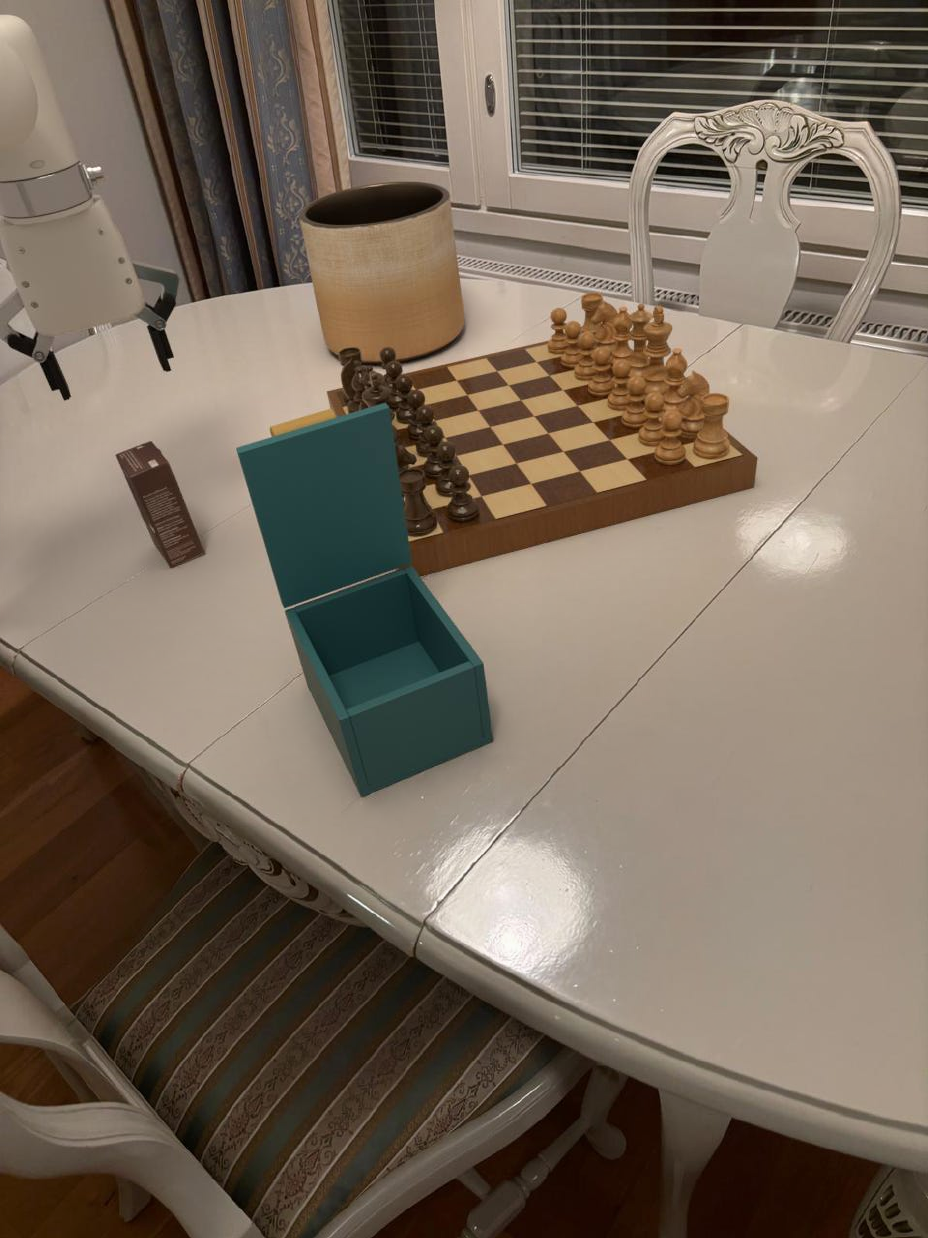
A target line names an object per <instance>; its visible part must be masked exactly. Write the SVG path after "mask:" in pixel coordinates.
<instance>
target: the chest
mask: <svg viewBox="0 0 928 1238" xmlns="http://www.w3.org/2000/svg"><path fill="white" fill-rule="evenodd" d="M284 614H285V617H286V620H287V624H288V627H289V630H290V634H291V636H292V640H293V643H294V646H295V650H296V653H297V656H298V660H299V663H300V666H301V669H302V672H303V675H304V678H305V683H306V686H307V687H308V690H309V692H310V693H311V696H312V698H313V700H314V702H315V704H316V706H317V708H318V711H319V712H320V714H321V717H322V719H323V721H324V723H325V725H326V728H327V729H328V731H329V733H330V735H331V738H332V739H333V742H334V744H335V746H336V748H337V750H338V752H339V755H340V756H341V758H342V761H343V763H344V765H345V767H346V768H347V771H348V773H349V775H350V777H351V779H352V782H353V784H354V786H355V789H356V790H357V792H358V794H359V796H360V797H361V798H363V797H366V796H367V795H370V794H372V793H375V792H377V791H379V790H382V789H384V788H387V787H388V786H389V787H390V786H391V785H394V784H396V783H398V782H401V781H403V780H405V779H407V778H410V777H412V776H414V775H417V774H419V773H421V772H424V771H426V770H429V769H431V768H434V767H436V766H438V765H441V764H443V763H445V762H448V761H450V760H452V759H455V758H457V757H460V756H462V755H464V754H467V753H469V752H472V751H473V750H476V749H478V748H481V747H483V746H486V745H488V744H491V743H492V742H494V736H493V727H492V721H491V720H492V719H491V712H490V704H489V697H488V695H489V694H488V687H487V681H486V680H487V679H486V671H485V665H484V662H483V660H482V659H481V658H480V656H479V655H478V653H476V651H475V649H474V648H473V647H472V646H471V644H470V643H469V642H468V639H467V638H466V637H465V636H464V635H463V633H462V632H461V630H460V629H459V628H458V626H457V625H456V623H455V622H454V621H453V619H452V618H451V617H450V616H449V614H448V613H447V612H446V610H445V609H444V608H443V606H442V605H441V604H440V602H439V600H438V599H437V598H436V597H435V595H434V594H433V592H432V591H431V590H430V589H429V587H428V586H427V585H426V583H425V581H424V580H423V579H422V578H421V576H419V575H418V574H417V572H416V571H415V570H414V568H413V567H412V566H411V565H410V566H407V567H405V568H402V569H399V570H396V569H395V570H392V571H389V572H387V573H384V574H381V575H378V576H377V577H376V576H375V577H373V578H370V579H367V580H364V581H361V582H359V583H356V584H353V585H350V586H347V587H345V588H342V589H339V590H336V591H333V592H331V593H328V594H325V595H322V596H319V597H317V598H314V599H311V600H308V601H305V602H303V603H300V604H299V605H298V604H297V605H294V606H293V607H289V608H288V609H287V608H286V609H285V610H284Z"/></svg>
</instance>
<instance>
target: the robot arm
mask: <svg viewBox="0 0 928 1238" xmlns="http://www.w3.org/2000/svg"><path fill="white" fill-rule="evenodd" d="M41 51H42V50H41V49H40V46H39V43H38V40H37V39H36V36H35V33H34V32H33V30H32V28H31V26H30V25H29V24H28V23H27V22H26V21H25V20H24V19H22V18H21V17H19V16H17V15H12V14H0V213H1V215H0V243H1V248H2V250H3V253H4V256H5V259H6V263H7V266H8V268H9V270H10V273H11V276H12V278H13V281H14V284H15V287H16V288H15V289H14V290H13V291H12V292H10V294H9V295H8V296H6V298H5V299H4V300H3V301H2V302H1V303H0V340H1V341H3V342H5V343H6V344H7V345H8V347H9V348H10V349H11V350H14V351H16V352H19V353H20V354H23V355H25V356H28V357H29V358H32V360H33V361H35V362H36V363H38V364H39V366H40V368H41V370H42V373H43V374H44V376H45V379H46V381H47V383H48V386H49V388H50V390H51V391H52V392H54V391H59V393H60V395H61V397H62V399H63V401H64V402H65V401H68V400H70V398H72V396H71V392H70V391H71V390H70V387H69V384H68V382H67V380H66V377H65V375H64V373H63V370H62V369H61V366H60V363H59V362H58V359H57V356H56V355H55V352H54V351H53V350H51V348H52V345H53V343H54V340H55V338H56V337H62V336H66V335H70V334H73V333H77V332H82V331H85V330H89V329H94V328H97V327H101V326H105V325H109V324H112V323H115V322H119V321H124V320H126V319H130V318H133V317H136V318H137V319H139V320H141V321H143V322H144V323H145V324H147V325H146V329H147V332H148V334H149V337H150V341H151V343H152V346H153V348H154V351H155V354H156V357H157V359H158V362H159V365H160V367H161V368H162V372H166V373H168V372H171V371H172V368H171V365H170V362H169V360H171V359H174V358H175V355H174V352H173V350H172V347H171V344H170V340H169V338H168V337H169V336H168V334H167V332H166V327H167V322H168V321H169V319H170V317H171V315H172V313H173V311H174V309H175V307H176V305H177V296H178V291H179V285H180V275H179V274H178V273H177V272H176V270H174V269H172V268H167V267H163V266H159V265H155V264H150V263H146V262H143V261H136V260H133V259H131V256H130V254H129V252H128V249H127V247H126V244H125V242H124V239H123V236H122V235H121V232H120V230H119V228H118V226H117V224H116V222H115V219H114V217H113V215H112V213H111V211H110V210H109V208H108V206H107V204H106V202H105V200H104V199H103V197H102V196H101V195H99V194H93V192H92V191H93V190H95V188H94V187H95V186H96V187H97V186H98V184H101V183H105V182H106V179H105V175H104V171H103V170H102V168H101V164H96V165H91V164H88V165H86V163H85V162H81V160H80V157H79V154H78V151H77V149H76V146H75V143H74V140H73V137H72V135H71V132H70V130H69V127H68V124H67V121H66V119H65V115H64V113H63V110H62V107H61V105H60V102H59V99H58V96H57V93H56V90H55V88H54V85H53V81H52V79H51V76H50V74H49V71H48V68H47V64H46V63H45V60H44V57H43V54H42V52H41ZM140 280H144V281H148V282H153V283H157V284H160V285H161V293H160V294H159V296H158V298H157V300H156V302H155V304H154V306H153V305H152V304H150V303H149V302H148V301H146V299H145V295H144V292H143V288H142V285H141V283H140ZM23 309H24V310H25V312H26V314H27V316H28V318H29V321H30V322H31V325H32V326H33V328H34V330H35V331H34V333H33V337H30V336H28V335H25V334H24V333H21V332H20V331H17V330H15V328H13V326H11V325H10V324H9V323H10V322H11V321H12V320H13V319H14V318H15V317H16V316H17V315H18V314H19V313H20V312H21V311H22V310H23Z"/></svg>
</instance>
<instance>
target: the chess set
mask: <svg viewBox="0 0 928 1238" xmlns="http://www.w3.org/2000/svg"><path fill="white" fill-rule="evenodd" d="M580 304H581V310H583V311H584V320H583V324H582V326H581V324H580V322H578V321H576V320H570V321H568V322H566V321H567V317H568V313H567V311H566V310H565V309H564V308H562V307H556V308H554V309H553V310H551V312H550V320H551V322H552V324H551V325H550V328H551V329H552V330H553V331H554V333H553V334H552V335H551V336H550V339H549V340H545V341H541V342H537V343H532V344H528V345H524V346H519V347H514V348H511V349H510V348H509V349H506V350H501V351H497V352H493V353H488V354H484V355H479V356H475V357H471V358H467V359H466V358H465V359H462V360H457V361H454V362H449V363H444V364H440V365H437V366H432V367H427V368H423V369H418V370H413V371H409V372H406V373H404V372H403V371H404V370H403V365H402V362H398V361H395V359H396V352H395V350H394V349H393V348H391V347H385V348H383V349H382V350H381V351H380V354H379V356H380V360H381V361H382V362H383V364H381V366H380V368H381V369H382V370H383V371H385V373H384V374H382V373H380V372H377V371H376V370H374V367H373V366H372V365H367V366H366V367H365V366H364V365H362V364H363V363H361V362H362V356H361V351H360V349H359V348H355V347H350V348H345V349H343V350H341V351H340V352H339V355H338V360H339V362H340V363H339V364H340V366H342V369H341V372H340V381H341V386H342V387H340V388H334V389H331V390H327V391H326V394H327V395H326V396H327V399H328V404H329V409H332V410H333V411H334V413H335V416H336V417H340V416H343V415H346V414H350V413H353V412H356V411H360V410H363V409H366V408H370V407H373V406H376V405H379V404H383V403H386V404H387V405H388V406H389V409H390V416H391V423H392V430H393V436H394V443H395V450H396V457H397V464H398V471H399V478H400V484H401V491H402V498H403V505H404V512H405V519H406V525H407V532H408V539H409V546H410V553H411V560H412V563H411V564H408V565H405V566H402V567H400V568H397V569H395V571H396V570H399V569H402V568H405V567H407V566H410V565H411V566H412V567H413V568H414V570H415V571H416V572H417V574H418V575H419V576H420V577H422V576H426V575H429V574H430V575H431V574H434V573H437V572H441V571H444V570H449V569H452V568H453V569H454V568H457V567H461V566H464V565H467V564H472V563H476V562H480V561H483V560H486V559H491V558H494V557H498V556H501V555H505V554H508V553H513V552H517V551H520V550H523V549H524V550H525V549H527V548H532V547H535V546H539V545H542V544H546V543H550V542H555V541H557V540H561V539H564V538H570V537H572V536H577V535H580V534H584V533H588V532H591V531H595V530H598V529H602V528H607V527H611V526H615V525H617V524H621V523H625V522H629V521H633V520H637V519H640V518H643V517H644V518H645V517H648V516H651V515H655V514H658V513H663V512H666V511H670V510H673V509H677V508H681V507H685V506H689V505H693V504H696V503H700V502H703V501H708V500H711V499H715V498H718V497H722V496H726V495H730V494H734V493H738V492H741V491H745V490H748V489H753V488H755V484H756V483H755V482H756V475H757V474H756V473H757V466H758V458H759V457H758V456H757V455H755V454H754V453H753V452H752V451H751V450H749V448H747V447H746V446H745V445H743V443H741V442H740V441H739V440H738V439H737V438H735V437H734V436H733V435H731V433H729V432H728V431H727V430H726V429H725V428H724V417H725V416H726V415H727V414H728V412H729V408H730V397H729V396H728V395H726V394H724V393H719V392H711V393H710V383H709V382H708V380H707V379H706V378H705V377H704V375H702V374H701V373H698V372H696V370H695V371H694V370H693V369H692V371H691V375H688V376H685V373H686V372H687V370H688V361H687V359H686V358H685V356H684V354H682V353H683V350H682V349H681V348H680V347H679V348H678V347H676V348H674V349H671V347H670V346H669V344H668V340H669V338H670V336H671V333H672V331H673V325H672V324H671V323H670V322H668V321H665V313H664V307H663V306H662V305H656V306H654V308H653V309H654V310H653V311H652V313H651V312H650V311H647V310H645V304H644V303H639V304H638V305H637V310H636V311H633V312H632V313H629V312H628V307H627V306H620V307H619V308H618V311H617V309H616V308H615V306H613V305H612V304H611V303H609V302H607V301H606V300H604V296H603V295H602V293H598V292H590V293H585V294H583V295H582V296H581V299H580ZM652 319H653V321H651V320H652ZM629 341H632V342H633V348H631V347H630V344H629ZM671 353H672V354H671ZM669 355H670V356H669ZM668 356H669V357H668ZM666 357H668V359H667V360H666V362H665V358H666Z"/></svg>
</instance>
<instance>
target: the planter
mask: <svg viewBox="0 0 928 1238" xmlns="http://www.w3.org/2000/svg"><path fill="white" fill-rule="evenodd" d="M298 218H299V223H300V229H301V234H302V237H303V242H304V247H305V253H306V257H307V262H308V266H309V272H310V277H311V282H312V286H313V293H314V298H315V303H316V307H317V308H316V309H317V312H318V317H319V322H320V327H321V332H322V336H323V340H324V342H325V346H326V347H327V349H328V350H329V351H330V352H332V353H333V354H335V355H337V356H339V352H340V351H341V350H343V349H345V348H350V347H355V348H359V349H360V351H361V356H362V362H361V364H374V365H376V364H377V365H378V364H379V365H380V364H381V365H382V364H383V362H382V361H381V360H380V356H379V354H380V351H381V350H382V349H383V348H385V347H391V348H393V349H394V350H395V352H396V359H395V361H398V362H400V363H402V362H407V361H411V360H416V359H419V358H423V357H425V356H428V355H431V354H434V353H436V352H437V351H440V350H442V349H443V348H445V347H446V346H448V345H449V344H450V343H452V342H453V341H454V340H455V339H456V338H457V337H458V336H460V333H461V332H462V331H463V329H464V326H465V310H464V302H463V293H462V285H461V278H460V277H461V276H460V268H459V262H458V253H457V246H456V245H457V244H456V237H455V228H454V220H453V219H454V218H453V211H452V203H451V195H450V192H449V190H448V189H446V187H443V186H441V185H438V184H435V183H431V182H424V181H389V182H388V181H387V182H378V183H370V184H364V185H360V186H359V185H358V186H353V187H350V188H346V189H342V190H338V191H335V192H332V193H329V194H326V195H324V196H320V197H318V198H317V199H314V200H313V201H310V202H309V203H308V204H306V205H305V206H304V207H302V209H301V210H300V211H299V214H298Z"/></svg>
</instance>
